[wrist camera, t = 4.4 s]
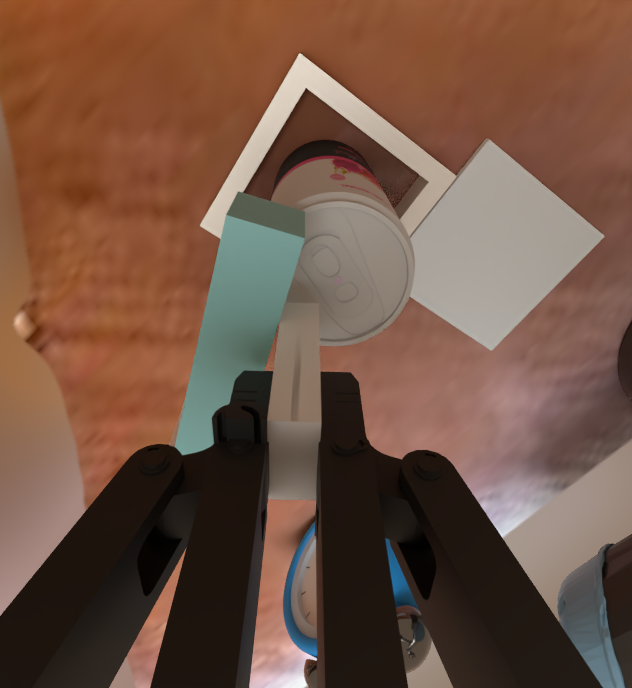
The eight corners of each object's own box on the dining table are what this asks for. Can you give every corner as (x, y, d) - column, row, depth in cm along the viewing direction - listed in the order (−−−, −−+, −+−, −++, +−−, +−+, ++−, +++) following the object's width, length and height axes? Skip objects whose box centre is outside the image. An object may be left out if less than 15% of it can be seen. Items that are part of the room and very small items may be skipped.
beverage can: (341, 117, 31) (367, 160, 18) (391, 207, 33) (445, 302, 20) (255, 176, 32) (220, 255, 19) (309, 257, 35) (311, 374, 22)
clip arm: (321, 216, 18) (323, 244, 15) (230, 501, 25) (221, 554, 22) (221, 185, 17) (205, 209, 14) (157, 487, 24) (139, 539, 21)
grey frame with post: (446, 168, 32) (549, 248, 19) (293, 365, 40) (286, 526, 26) (300, 53, 29) (295, 48, 15) (161, 292, 36) (75, 432, 23)
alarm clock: (378, 464, 45) (407, 629, 32) (423, 496, 47) (467, 663, 34) (283, 537, 50) (275, 707, 37) (328, 564, 52) (335, 733, 39)
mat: (600, 233, 35) (604, 236, 34) (488, 347, 39) (491, 350, 38) (486, 137, 31) (489, 139, 31) (378, 273, 36) (379, 276, 35)
